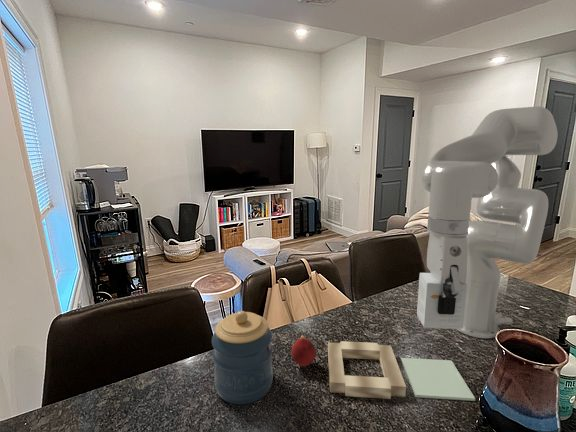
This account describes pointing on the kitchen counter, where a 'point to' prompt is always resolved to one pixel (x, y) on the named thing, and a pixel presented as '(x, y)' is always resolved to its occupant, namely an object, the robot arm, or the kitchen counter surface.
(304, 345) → the red round piece
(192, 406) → the kitchen counter surface
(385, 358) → the wooden square frame
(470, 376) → the kitchen counter surface
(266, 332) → the canister
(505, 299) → the kitchen counter surface
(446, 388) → the pad
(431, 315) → the small box
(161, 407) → the kitchen counter surface
